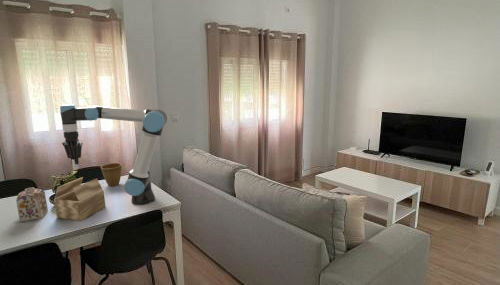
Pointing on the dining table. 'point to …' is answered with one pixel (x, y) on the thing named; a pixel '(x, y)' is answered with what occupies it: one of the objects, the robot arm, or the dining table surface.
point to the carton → (79, 206)
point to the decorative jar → (31, 204)
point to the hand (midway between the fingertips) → (75, 169)
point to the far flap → (68, 187)
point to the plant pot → (112, 173)
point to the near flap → (87, 189)
